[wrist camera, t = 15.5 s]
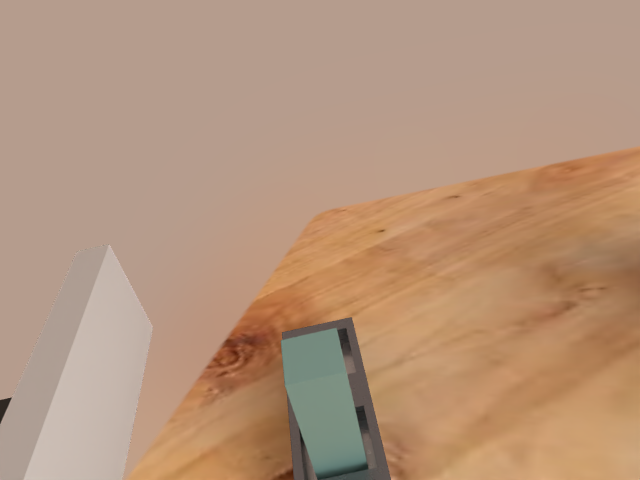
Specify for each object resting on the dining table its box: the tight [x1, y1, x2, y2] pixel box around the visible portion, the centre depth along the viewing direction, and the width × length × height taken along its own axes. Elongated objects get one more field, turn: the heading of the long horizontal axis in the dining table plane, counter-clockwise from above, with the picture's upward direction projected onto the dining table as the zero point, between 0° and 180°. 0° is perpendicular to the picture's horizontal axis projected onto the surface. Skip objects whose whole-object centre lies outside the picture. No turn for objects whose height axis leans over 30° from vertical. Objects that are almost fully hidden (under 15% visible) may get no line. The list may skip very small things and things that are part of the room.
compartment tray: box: [282, 317, 391, 480], centre depth 45 cm, size 17×7×3 cm, turn 7°
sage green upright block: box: [281, 328, 369, 480], centre depth 38 cm, size 4×4×12 cm
